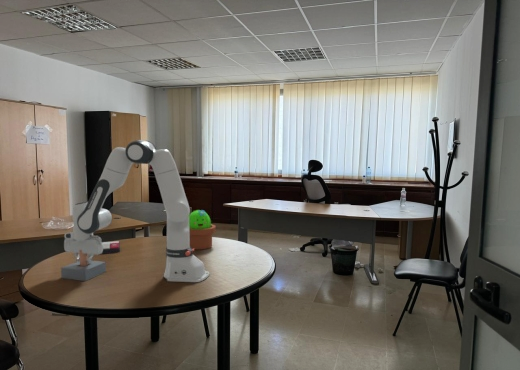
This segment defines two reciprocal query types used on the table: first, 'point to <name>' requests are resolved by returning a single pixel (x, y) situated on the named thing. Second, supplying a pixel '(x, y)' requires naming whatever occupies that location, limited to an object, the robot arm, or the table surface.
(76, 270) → the socket block
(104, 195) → the robot arm
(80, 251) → the peg
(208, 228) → the potted cactus
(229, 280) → the table surface
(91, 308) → the table surface
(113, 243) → the black white red box
